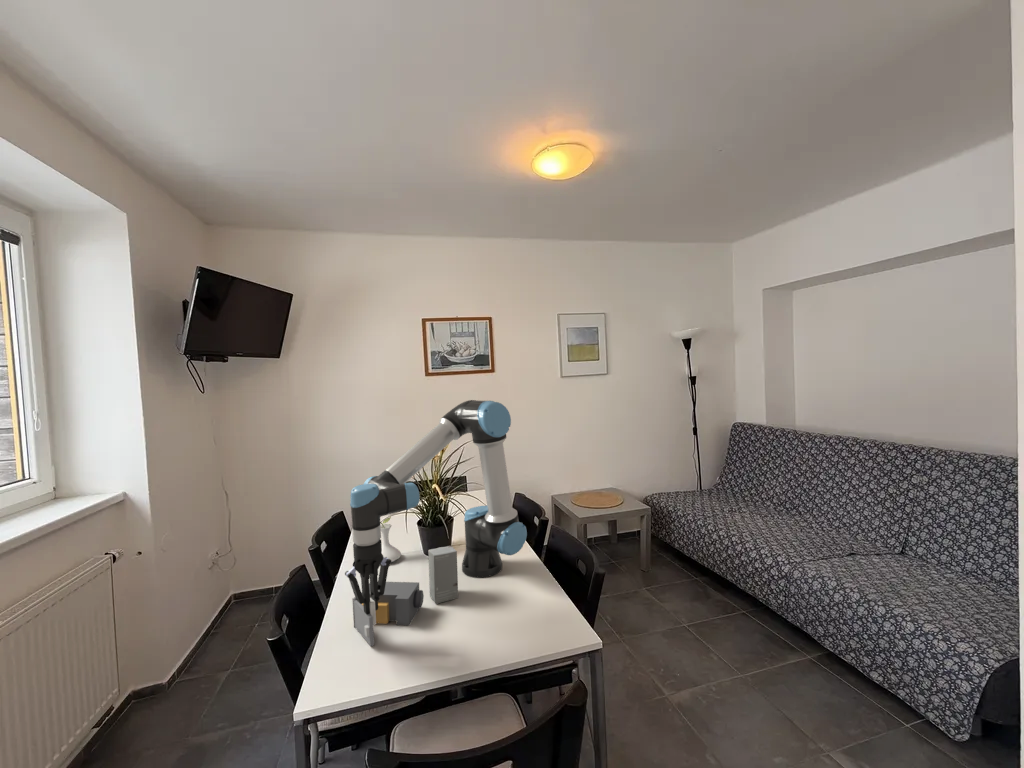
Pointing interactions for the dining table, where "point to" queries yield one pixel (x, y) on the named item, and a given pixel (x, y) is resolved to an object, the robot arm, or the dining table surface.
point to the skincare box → (443, 574)
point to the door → (364, 623)
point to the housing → (398, 603)
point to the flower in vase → (388, 549)
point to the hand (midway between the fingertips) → (371, 622)
